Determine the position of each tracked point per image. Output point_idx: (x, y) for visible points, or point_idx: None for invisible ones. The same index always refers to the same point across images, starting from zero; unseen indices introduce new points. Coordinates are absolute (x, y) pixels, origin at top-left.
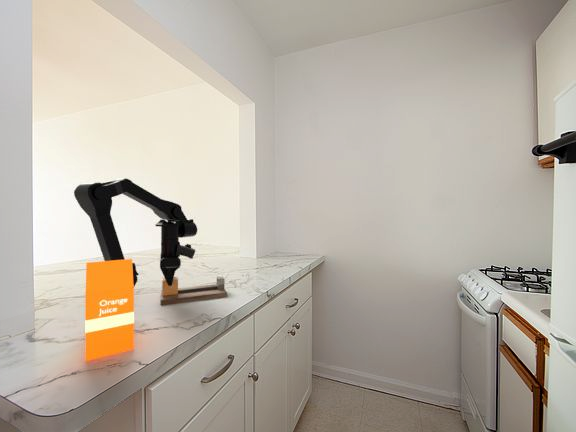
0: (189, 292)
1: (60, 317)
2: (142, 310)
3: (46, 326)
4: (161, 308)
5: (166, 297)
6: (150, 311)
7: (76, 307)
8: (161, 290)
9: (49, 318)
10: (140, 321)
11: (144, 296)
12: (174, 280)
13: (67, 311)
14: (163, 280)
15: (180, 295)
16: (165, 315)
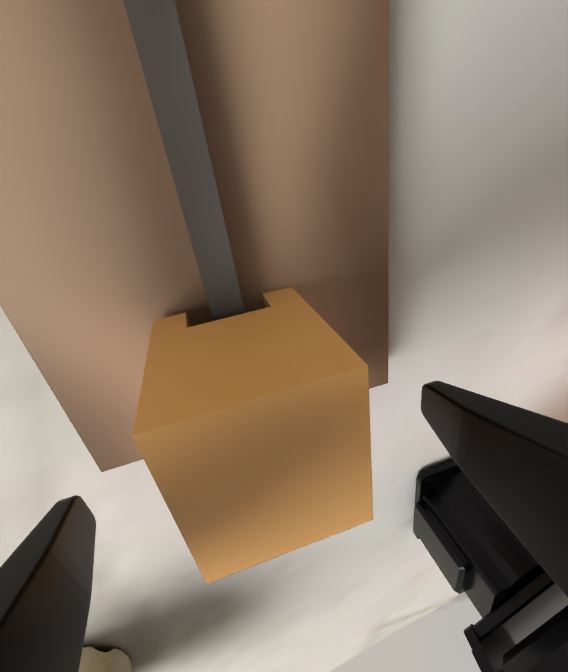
0: (221, 160)
1: (373, 620)
2: (419, 424)
3: (432, 601)
4: (434, 340)
5: None
6: (452, 382)
7: (283, 649)
8: (109, 465)
9: (370, 635)
10: (548, 379)
11: (158, 518)
12: (362, 403)
13: (320, 642)
14: (352, 518)
15: (314, 255)
16: (548, 287)
